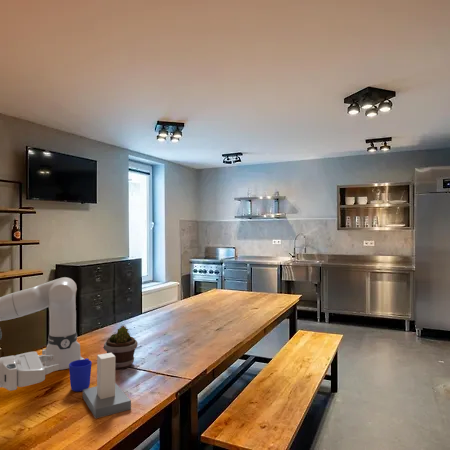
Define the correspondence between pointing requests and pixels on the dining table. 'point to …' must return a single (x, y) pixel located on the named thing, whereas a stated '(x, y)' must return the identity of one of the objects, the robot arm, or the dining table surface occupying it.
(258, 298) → the dining table surface
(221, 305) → the dining table surface
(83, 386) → the mug
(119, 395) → the block
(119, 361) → the flowerpot
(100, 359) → the block
